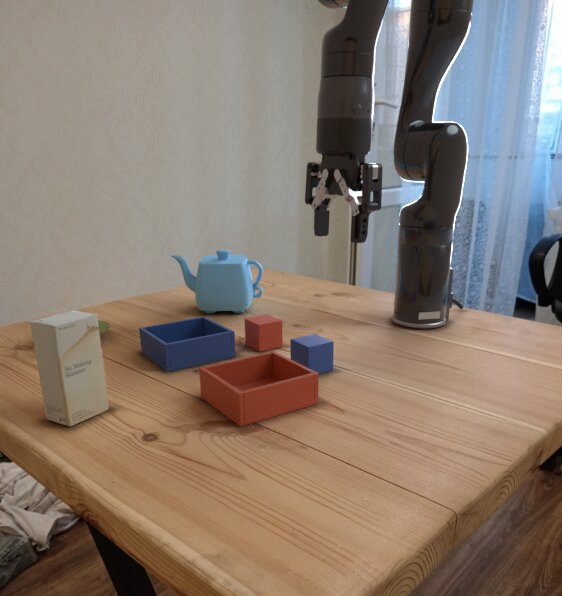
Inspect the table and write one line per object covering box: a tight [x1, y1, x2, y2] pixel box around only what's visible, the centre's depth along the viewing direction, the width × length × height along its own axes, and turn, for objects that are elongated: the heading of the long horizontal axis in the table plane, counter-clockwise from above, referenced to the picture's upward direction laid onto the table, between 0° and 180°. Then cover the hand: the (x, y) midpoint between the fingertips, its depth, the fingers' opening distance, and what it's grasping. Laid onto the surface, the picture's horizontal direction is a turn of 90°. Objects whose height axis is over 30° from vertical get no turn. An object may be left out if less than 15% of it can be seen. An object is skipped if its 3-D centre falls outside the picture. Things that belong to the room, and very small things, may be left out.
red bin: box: [198, 350, 320, 427], centre depth 72 cm, size 11×10×4 cm
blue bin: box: [138, 316, 236, 373], centre depth 88 cm, size 11×10×4 cm
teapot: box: [169, 248, 264, 314], centre depth 113 cm, size 12×18×12 cm
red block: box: [244, 313, 283, 352], centre depth 92 cm, size 4×4×4 cm
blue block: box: [290, 333, 335, 375], centre depth 82 cm, size 4×4×4 cm
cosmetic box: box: [29, 309, 110, 427], centre depth 67 cm, size 6×4×12 cm
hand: (338, 239), depth 83 cm, fingers open, 8 cm apart
